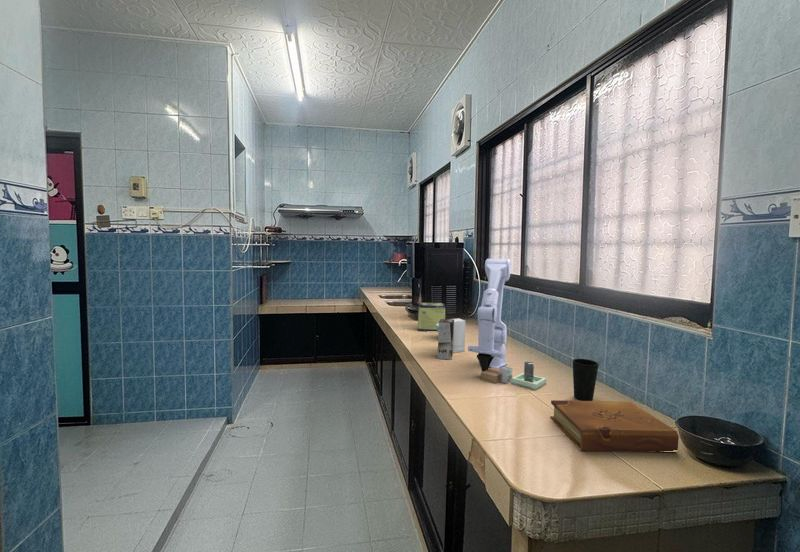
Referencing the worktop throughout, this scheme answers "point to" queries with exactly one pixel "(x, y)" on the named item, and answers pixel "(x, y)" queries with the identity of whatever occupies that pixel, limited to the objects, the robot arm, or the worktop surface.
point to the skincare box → (459, 335)
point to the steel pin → (528, 371)
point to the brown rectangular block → (491, 375)
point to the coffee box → (445, 339)
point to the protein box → (430, 315)
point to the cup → (584, 378)
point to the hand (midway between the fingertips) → (484, 373)
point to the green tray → (535, 385)
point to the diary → (612, 426)
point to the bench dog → (505, 374)
